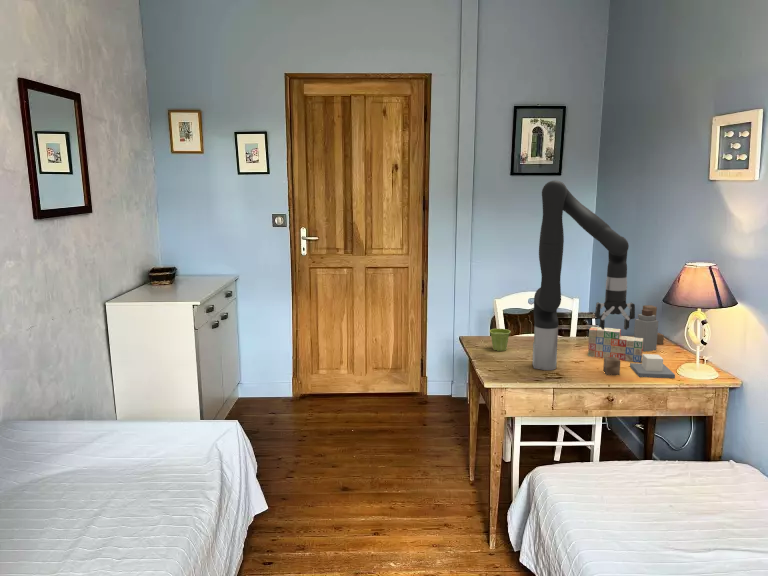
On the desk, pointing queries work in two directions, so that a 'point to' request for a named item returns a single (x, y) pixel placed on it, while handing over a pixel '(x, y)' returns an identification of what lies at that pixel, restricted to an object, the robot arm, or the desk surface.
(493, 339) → the plant pot
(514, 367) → the desk surface
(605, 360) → the walnut block
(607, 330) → the stack of blocks
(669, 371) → the base plate
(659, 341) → the wooden block
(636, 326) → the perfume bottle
